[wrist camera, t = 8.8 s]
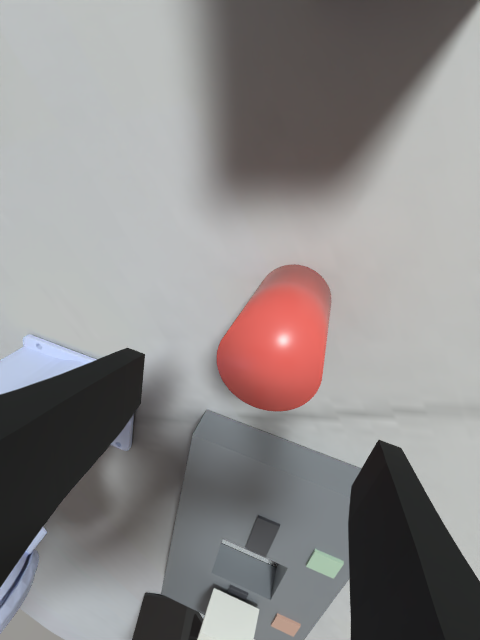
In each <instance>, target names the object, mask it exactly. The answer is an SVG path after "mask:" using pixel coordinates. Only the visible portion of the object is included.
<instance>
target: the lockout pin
mask: <svg viewBox="0 0 480 640" xmlns="http://www.w3.org/2000/svg"><path fill="white" fill-rule="evenodd" d="M330 308H331V293H330V290H329V287H328V285H327V283H326V282H325V280H324V279H323V278H322V276H320V275H319V274H318V273H317V272H316V271H314V270H312V269H310V268H308V267H305V266H301V265H285V266H282V267H279V268H277V269H275V270H273V271H272V272H271V273H269V274H268V275H267V276H266V278H265V279H264V280H263V282H262V283H261V285H260V286H259V287H258V289H257V290H256V292H255V293H254V295H253V296H252V297H251V299H250V300H249V302H248V303H247V304H246V306H245V307H244V309H243V310H242V312H241V313H240V314H239V316H238V317H237V319H236V320H235V321H234V323H233V324H232V326H231V327H230V329H229V330H228V331H227V333H226V334H225V336H224V337H223V339H222V340H221V342H220V344H219V347H218V350H217V366H218V370H219V374H220V376H221V378H222V380H223V382H224V383H225V385H226V386H227V387H228V389H229V390H230V391H231V392H232V393H233V394H234V395H235V396H236V397H238V398H239V399H240V400H242V401H243V402H245V403H247V404H249V405H251V406H253V407H256V408H259V409H263V410H267V411H287V410H291V409H295V408H297V407H300V406H302V405H303V404H305V403H306V402H308V401H309V400H310V399H311V398H312V397H313V396H314V395H315V394H316V392H317V390H318V389H319V387H320V384H321V381H322V374H323V366H324V357H325V349H326V341H327V333H328V324H329V316H330Z"/></svg>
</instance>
